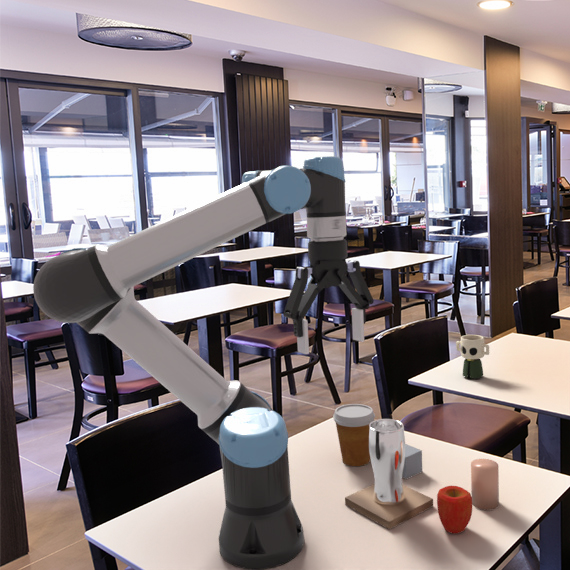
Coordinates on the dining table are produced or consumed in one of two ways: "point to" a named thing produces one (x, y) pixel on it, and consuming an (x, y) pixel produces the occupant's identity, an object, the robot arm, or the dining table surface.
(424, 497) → the walnut board
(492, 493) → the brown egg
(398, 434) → the steel tumbler
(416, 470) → the slate block
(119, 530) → the dining table surface
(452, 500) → the apple
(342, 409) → the disposable coffee cup
